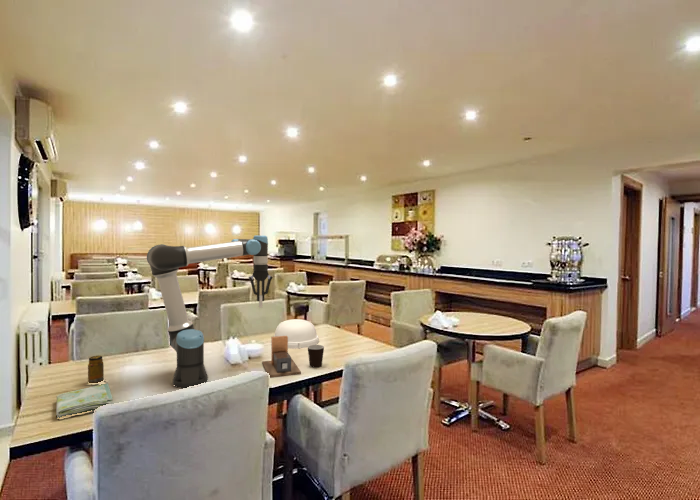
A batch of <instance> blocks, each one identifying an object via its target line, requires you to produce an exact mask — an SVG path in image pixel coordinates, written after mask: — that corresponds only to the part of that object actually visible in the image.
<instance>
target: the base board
mask: <svg viewBox="0 0 700 500" xmlns="http://www.w3.org/2000/svg"><path fill="white" fill-rule="evenodd" d="M261 365H262V367H263V369H264V371H265V373H266V372H267V373H269V375H270V378H280V377H288V376H295V375H301V374H302V371H301V369H300V368H299V367H298V365H297V363H296V362H295V361H294V360H293V358H291V371H290V372H281V373H277V372H276V370H275V368H274V365H272V364H271V360H264V361H262V362H261ZM270 378H269V379H270Z"/></svg>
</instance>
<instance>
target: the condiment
mask: <svg viewBox="0 0 700 500" xmlns="http://www.w3.org/2000/svg"><path fill="white" fill-rule="evenodd" d="M104 373H105V371H104V361H103V356H102V355H93V356H90V357H89V358H88V364H87V383H88V382H89V383H98V382H101V381H103V380H104V379H105V377H104Z"/></svg>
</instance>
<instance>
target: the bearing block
mask: <svg viewBox="0 0 700 500" xmlns="http://www.w3.org/2000/svg"><path fill="white" fill-rule="evenodd" d="M291 359H292V357H291V355H290V353H289V352H280V353H274V368H275V370H276V372H277V373H281V372H290V371H291ZM281 362H287V368H286V369H282V367H281Z"/></svg>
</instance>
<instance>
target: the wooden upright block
mask: <svg viewBox="0 0 700 500" xmlns="http://www.w3.org/2000/svg"><path fill="white" fill-rule="evenodd" d="M274 336H275V335H274ZM270 343H271V344H270V345H271V351H270V352H271V353H270V355H271V358H270V359H271V360H270V361H271V364H272V365H274V353H280V352H288V351H289V350H288V349H289V348H288V337H287V336H275V337H273V336H271V342H270ZM288 353H289V352H288ZM281 367H282V369H286V368H287V362H281Z"/></svg>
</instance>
